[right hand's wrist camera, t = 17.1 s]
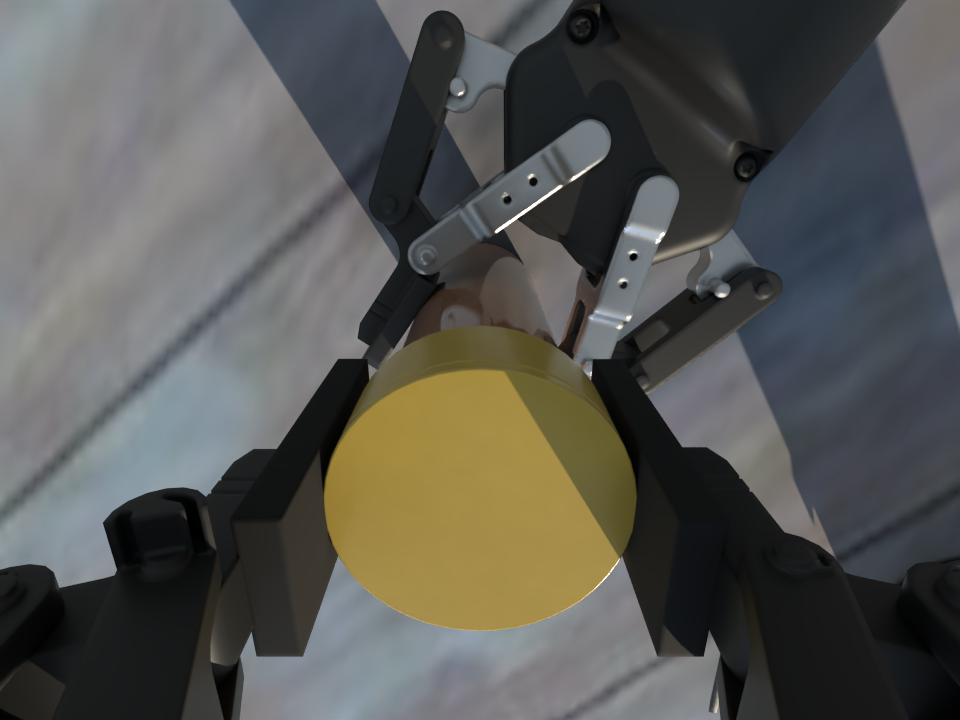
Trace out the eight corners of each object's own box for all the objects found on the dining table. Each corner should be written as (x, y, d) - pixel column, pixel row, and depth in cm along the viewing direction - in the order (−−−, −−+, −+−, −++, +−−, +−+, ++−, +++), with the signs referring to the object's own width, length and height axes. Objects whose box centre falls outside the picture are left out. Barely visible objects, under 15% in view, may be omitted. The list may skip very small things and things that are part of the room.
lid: (561, 572, 14) (577, 655, 11) (331, 521, 13) (299, 598, 11) (648, 364, 12) (688, 415, 9) (380, 292, 11) (354, 329, 9)
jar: (424, 243, 24) (342, 379, 10) (533, 241, 24) (612, 375, 10) (430, 346, 26) (367, 590, 12) (532, 344, 26) (596, 586, 12)
